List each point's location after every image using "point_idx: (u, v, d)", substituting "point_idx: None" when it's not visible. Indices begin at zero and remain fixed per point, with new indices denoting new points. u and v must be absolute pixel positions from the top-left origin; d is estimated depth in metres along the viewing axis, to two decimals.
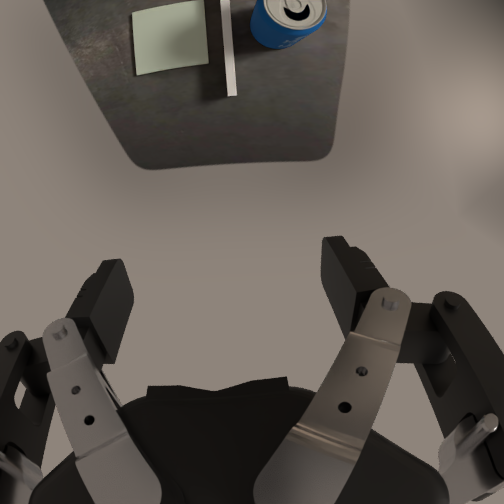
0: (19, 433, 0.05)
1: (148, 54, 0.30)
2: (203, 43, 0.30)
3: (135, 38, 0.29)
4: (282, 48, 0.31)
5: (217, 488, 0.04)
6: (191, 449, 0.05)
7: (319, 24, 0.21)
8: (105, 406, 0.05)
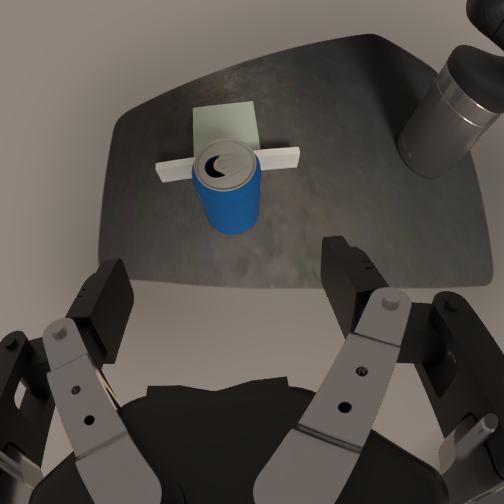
0: (19, 433, 0.05)
1: (209, 114, 0.41)
2: None
3: (226, 104, 0.42)
4: None
5: (217, 488, 0.04)
6: (191, 449, 0.05)
7: (205, 191, 0.27)
8: (105, 406, 0.05)
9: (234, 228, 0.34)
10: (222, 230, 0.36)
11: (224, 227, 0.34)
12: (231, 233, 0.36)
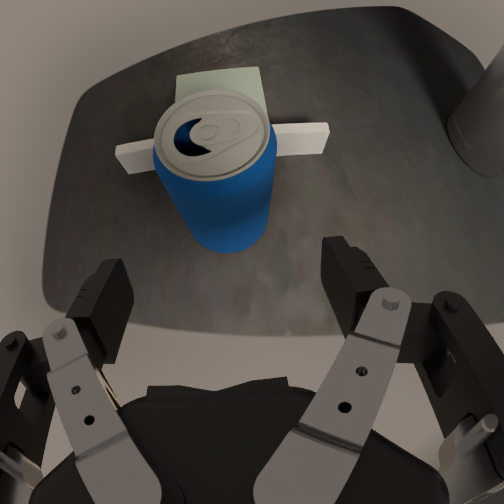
0: (19, 433, 0.05)
1: (198, 82, 0.29)
2: None
3: (223, 70, 0.29)
4: None
5: (217, 488, 0.04)
6: (192, 449, 0.05)
7: (172, 182, 0.14)
8: (105, 406, 0.05)
9: (230, 244, 0.21)
10: (211, 247, 0.23)
11: (213, 243, 0.21)
12: (225, 251, 0.23)
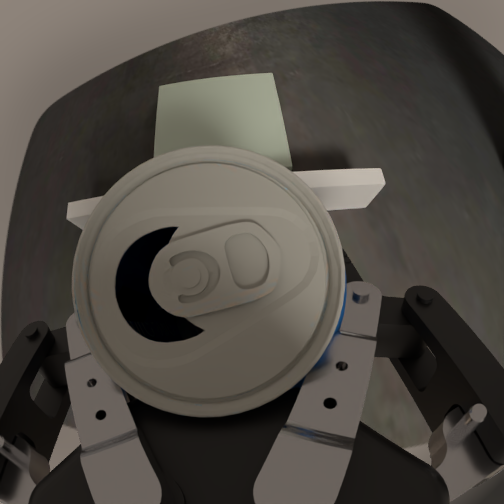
0: (31, 424, 0.06)
1: (189, 95, 0.21)
2: None
3: (223, 78, 0.21)
4: (175, 322, 0.16)
5: (217, 488, 0.04)
6: (191, 449, 0.05)
7: None
8: (119, 403, 0.05)
9: None
10: None
11: None
12: None
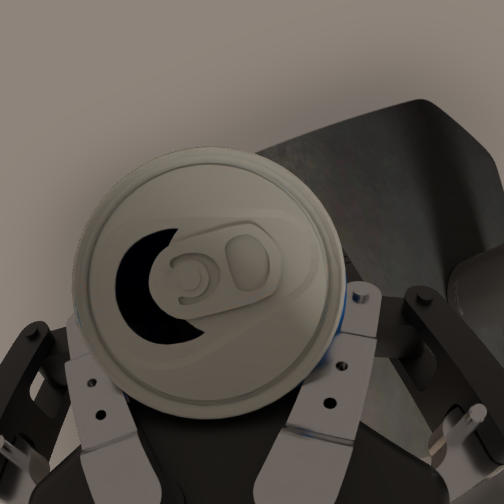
0: (31, 424, 0.06)
1: None
2: None
3: None
4: (175, 323, 0.16)
5: (216, 488, 0.04)
6: (191, 448, 0.05)
7: None
8: (119, 403, 0.05)
9: None
10: None
11: None
12: None
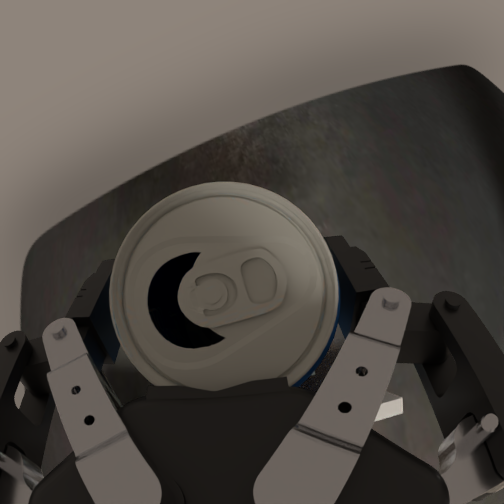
0: (19, 433, 0.05)
1: None
2: None
3: None
4: (184, 327, 0.17)
5: (217, 488, 0.04)
6: (191, 449, 0.05)
7: None
8: (105, 406, 0.05)
9: None
10: None
11: None
12: None
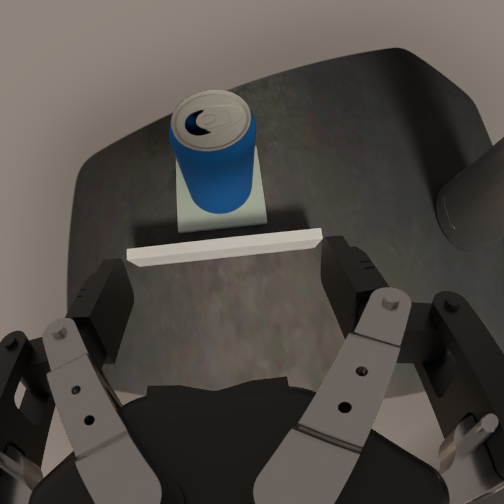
0: (19, 433, 0.05)
1: None
2: (204, 224, 0.31)
3: None
4: None
5: (217, 488, 0.04)
6: (191, 448, 0.05)
7: (184, 153, 0.20)
8: (105, 406, 0.05)
9: (223, 204, 0.28)
10: (208, 208, 0.29)
11: (210, 203, 0.28)
12: (219, 212, 0.29)
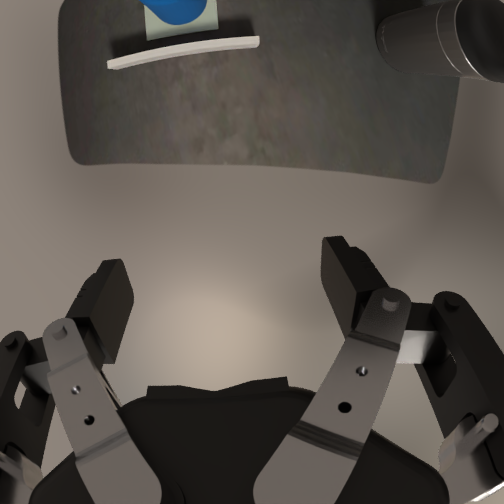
0: (19, 433, 0.05)
1: None
2: (167, 33, 0.29)
3: None
4: None
5: (217, 488, 0.04)
6: (191, 449, 0.05)
7: (144, 0, 0.19)
8: (105, 406, 0.05)
9: (180, 20, 0.26)
10: (169, 22, 0.27)
11: (170, 21, 0.26)
12: (178, 24, 0.28)
